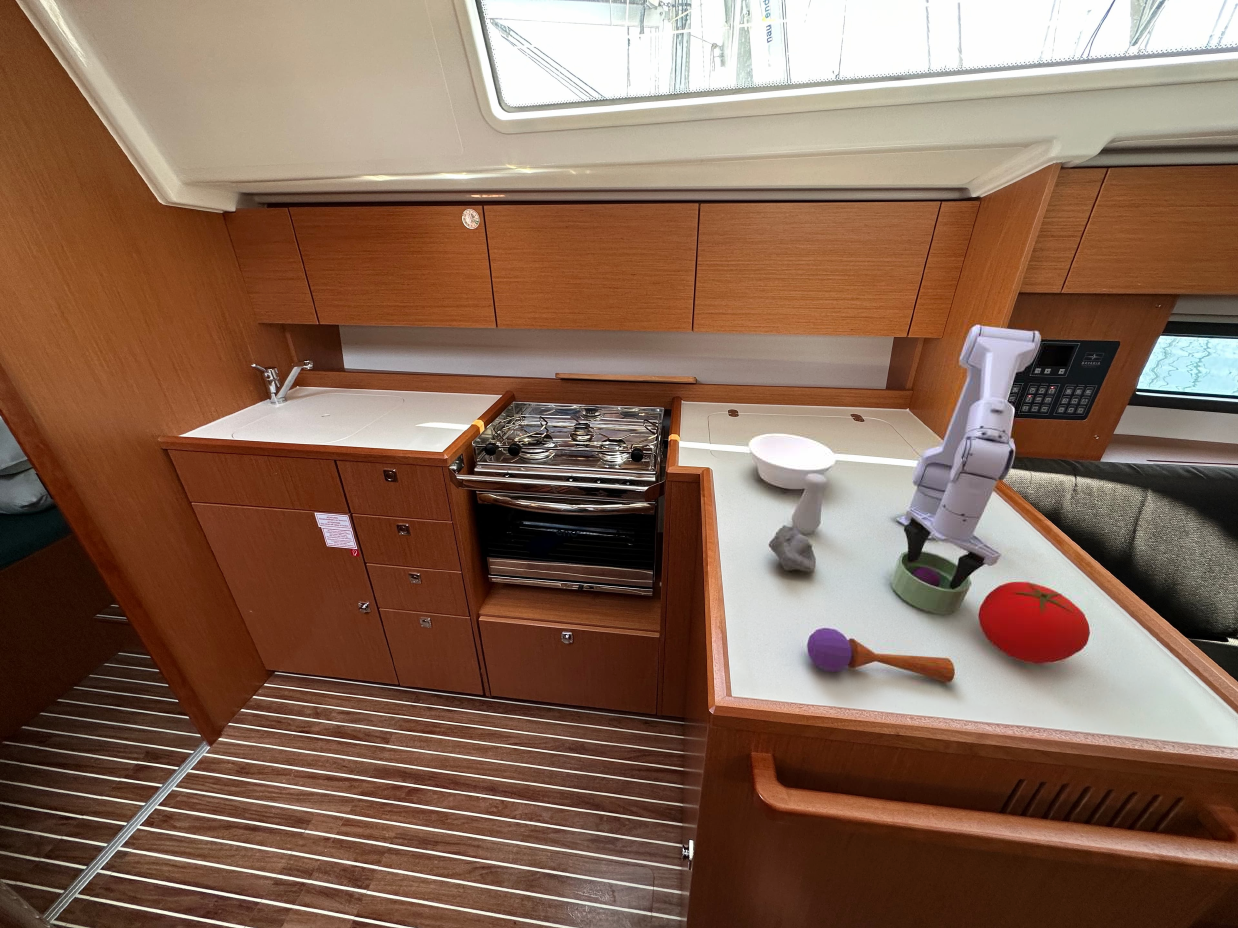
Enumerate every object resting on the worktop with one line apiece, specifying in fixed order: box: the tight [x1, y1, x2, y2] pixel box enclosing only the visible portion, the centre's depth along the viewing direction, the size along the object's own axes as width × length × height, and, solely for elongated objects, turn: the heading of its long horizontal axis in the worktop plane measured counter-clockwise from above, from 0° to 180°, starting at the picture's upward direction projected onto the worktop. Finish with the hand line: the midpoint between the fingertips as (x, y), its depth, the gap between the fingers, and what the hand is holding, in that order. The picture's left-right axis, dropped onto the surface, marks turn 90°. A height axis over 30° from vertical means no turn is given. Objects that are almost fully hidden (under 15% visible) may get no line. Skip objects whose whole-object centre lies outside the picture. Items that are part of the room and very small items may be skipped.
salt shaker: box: [791, 473, 828, 535], centre depth 99 cm, size 6×6×13 cm
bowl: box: [748, 433, 837, 490], centre depth 120 cm, size 21×21×8 cm
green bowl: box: [890, 550, 972, 615], centre depth 84 cm, size 11×11×6 cm
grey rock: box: [768, 524, 817, 573], centre depth 89 cm, size 11×9×8 cm
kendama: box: [806, 627, 956, 683], centre depth 69 cm, size 6×6×20 cm
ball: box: [912, 567, 940, 587], centre depth 84 cm, size 4×4×4 cm
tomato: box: [978, 581, 1091, 665], centre depth 72 cm, size 12×13×11 cm
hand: (932, 572), depth 83 cm, fingers open, 7 cm apart
